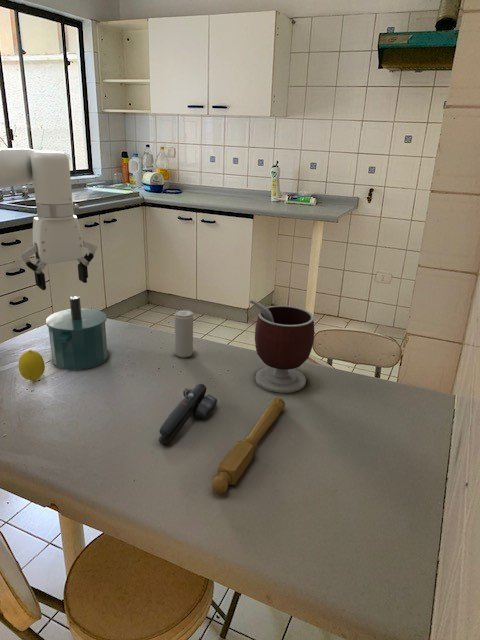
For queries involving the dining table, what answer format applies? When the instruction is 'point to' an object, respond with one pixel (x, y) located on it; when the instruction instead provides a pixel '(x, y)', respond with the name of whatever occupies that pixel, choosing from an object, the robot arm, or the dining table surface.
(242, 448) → the tap handle
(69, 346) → the pot
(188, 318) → the beverage can
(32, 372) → the lemon
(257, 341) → the mate gourd
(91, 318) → the lid
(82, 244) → the robot arm
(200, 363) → the dining table surface
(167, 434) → the can opener
